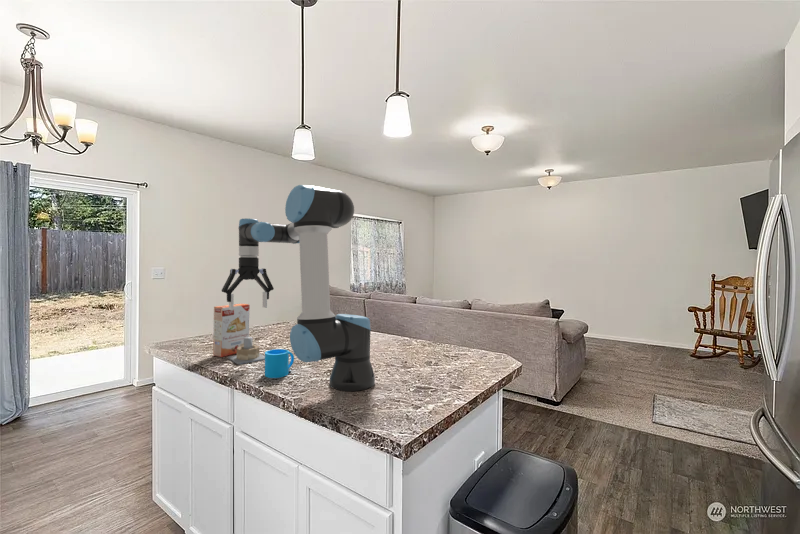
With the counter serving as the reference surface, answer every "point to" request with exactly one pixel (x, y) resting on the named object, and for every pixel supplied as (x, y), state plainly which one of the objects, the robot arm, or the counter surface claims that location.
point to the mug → (277, 363)
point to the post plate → (234, 358)
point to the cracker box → (230, 328)
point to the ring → (247, 353)
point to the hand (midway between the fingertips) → (248, 308)
